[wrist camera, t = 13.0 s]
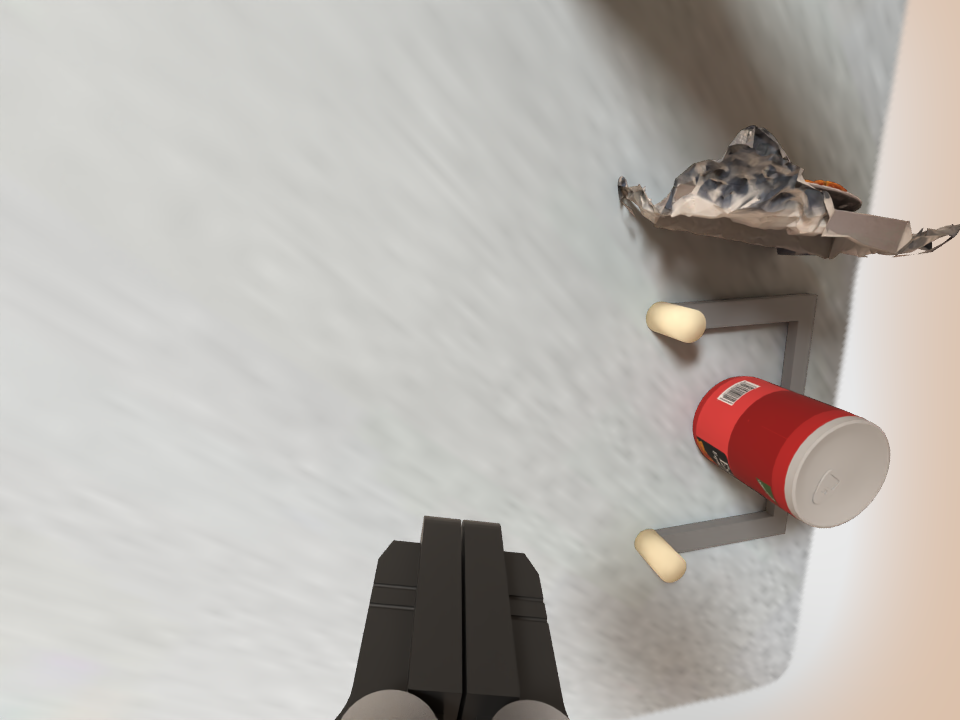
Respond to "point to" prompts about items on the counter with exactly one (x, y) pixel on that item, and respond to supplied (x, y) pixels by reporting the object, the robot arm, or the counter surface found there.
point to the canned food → (793, 449)
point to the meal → (775, 206)
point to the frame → (799, 312)
